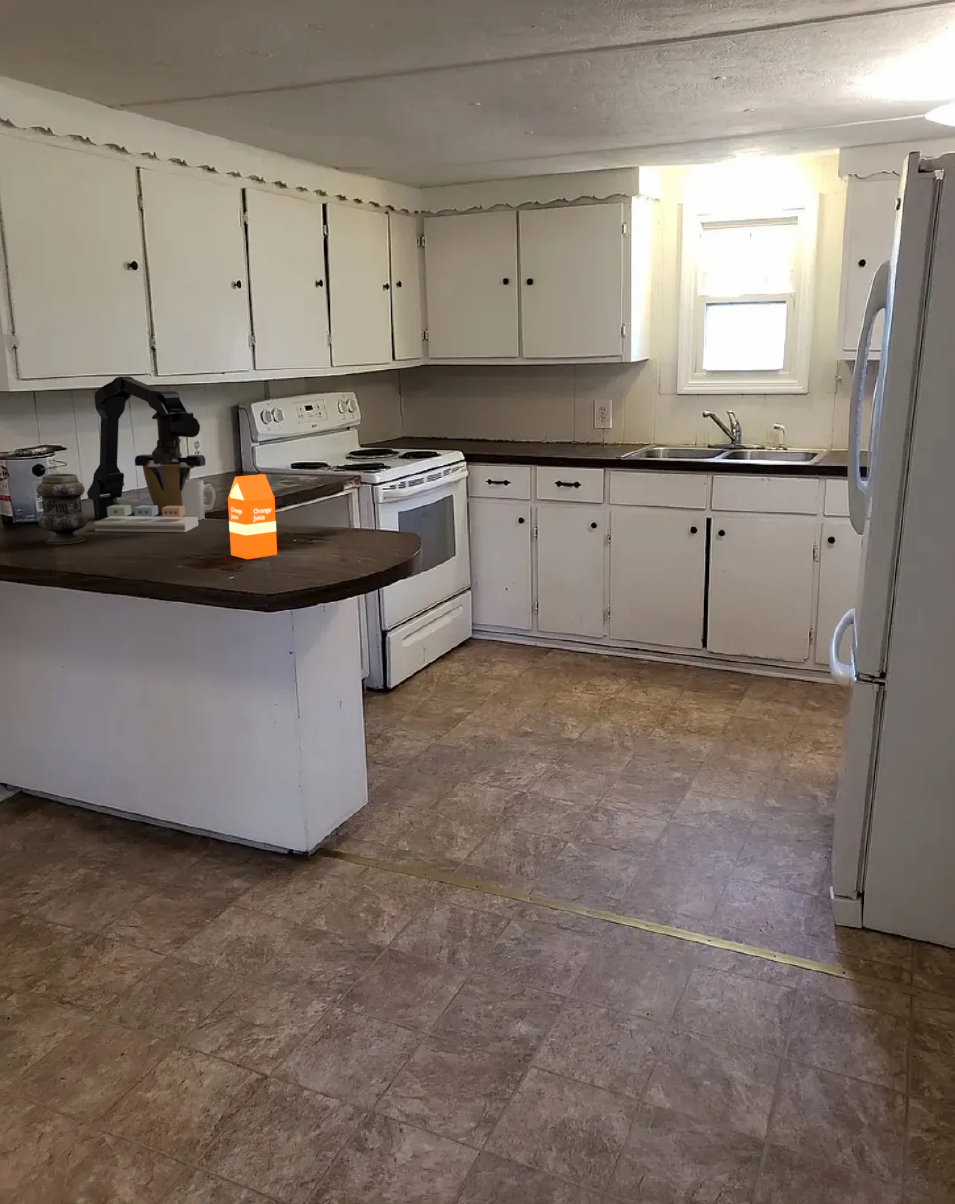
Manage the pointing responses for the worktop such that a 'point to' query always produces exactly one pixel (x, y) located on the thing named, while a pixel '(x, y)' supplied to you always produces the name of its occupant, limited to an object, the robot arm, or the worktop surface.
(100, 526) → the console
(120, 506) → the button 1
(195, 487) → the mug
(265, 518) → the orange juice
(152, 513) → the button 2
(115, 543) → the worktop surface
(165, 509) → the orange block with buttons
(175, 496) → the plant pot
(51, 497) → the apothecary jar
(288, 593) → the worktop surface
